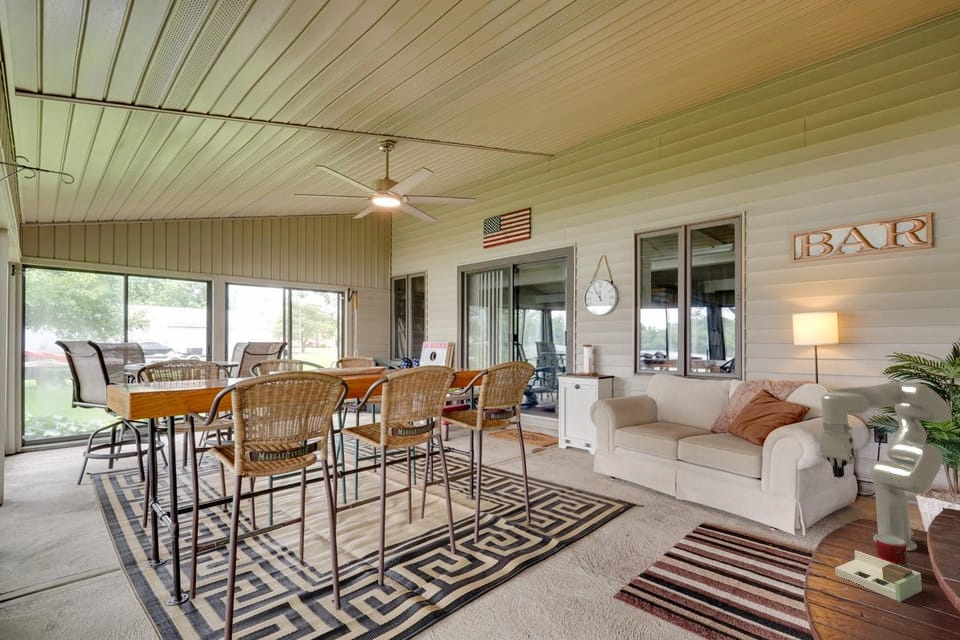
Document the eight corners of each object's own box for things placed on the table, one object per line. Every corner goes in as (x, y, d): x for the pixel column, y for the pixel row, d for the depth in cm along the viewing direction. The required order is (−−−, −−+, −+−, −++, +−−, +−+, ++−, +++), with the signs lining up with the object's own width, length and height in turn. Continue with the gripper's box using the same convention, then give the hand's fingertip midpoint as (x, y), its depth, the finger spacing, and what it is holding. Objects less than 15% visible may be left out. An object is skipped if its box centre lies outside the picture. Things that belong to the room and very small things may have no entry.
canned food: (902, 579, 155) (899, 546, 155) (873, 568, 162) (871, 537, 162) (912, 572, 159) (910, 540, 159) (883, 563, 166) (881, 532, 166)
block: (892, 575, 153) (891, 563, 153) (913, 583, 148) (912, 570, 148) (883, 579, 151) (882, 567, 151) (904, 587, 146) (903, 575, 146)
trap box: (857, 565, 164) (856, 550, 165) (921, 590, 148) (920, 573, 148) (835, 575, 159) (834, 559, 159) (900, 601, 143) (898, 583, 143)
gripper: (864, 429, 168) (867, 480, 168) (820, 423, 182) (823, 470, 181) (852, 432, 165) (856, 484, 165) (808, 425, 179) (811, 473, 178)
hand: (838, 476), depth 173 cm, fingers closed
